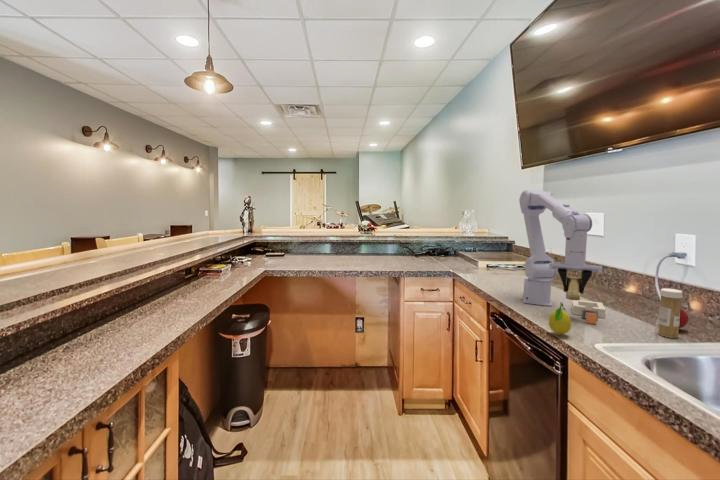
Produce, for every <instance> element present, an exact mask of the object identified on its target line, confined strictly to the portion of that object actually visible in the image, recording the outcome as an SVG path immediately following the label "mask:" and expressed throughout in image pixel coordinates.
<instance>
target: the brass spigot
mask: <svg viewBox="0 0 720 480" xmlns="http://www.w3.org/2000/svg"><path fill="white" fill-rule="evenodd" d="M566 287H567V291H566V292H565V299H567V300H569V301H570V300H571V301H572V300H581V293H580V292H581V277H578V276H567V279H566Z"/></svg>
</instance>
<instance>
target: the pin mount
mask: <svg viewBox="0 0 720 480" xmlns="http://www.w3.org/2000/svg"><path fill="white" fill-rule="evenodd" d="M586 312H589V313H596V314H597V321H598V320H599V318H598V311H596V310H588V309H582V315H581V319H585V320H586Z"/></svg>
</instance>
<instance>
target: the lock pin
mask: <svg viewBox="0 0 720 480" xmlns="http://www.w3.org/2000/svg"><path fill="white" fill-rule="evenodd" d="M597 321H598V320H597V314H596V313H589V312H586V319H585V323H586V324H589V325H590V324H591V325H597Z"/></svg>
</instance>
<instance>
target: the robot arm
mask: <svg viewBox="0 0 720 480" xmlns="http://www.w3.org/2000/svg"><path fill="white" fill-rule="evenodd" d="M518 201H519V206H520V211H521V213H522V214H523V218H524V224H525V228H526V229H525V230H526V235H527V240H528V246H529V252H530V256H529V257H528V258H527V259H526V260H525V261H524V262H525V263H524V264H525V268H524V274H525V276H526V277H527V278H525V279H524V280H523V293H522V302H523V304H530V305H539V306H545V307H546V306H547V307H552V300H551V296H552V295H551V293H552V282H554V279H555V278H556V277H557V276H558V275H559V277H560V280H561V282H562V283H561V284H562V286H563V292H565V293H566V291H567V287H566V286H567V277H568V276H567V275H568V273H567V271H578V272H581V277H580V278H581V292H580V294H584V292H585V287H586V285H587V283H588V281H589V280H590V279H591V277H592V276H593V273H598V274H599V273H600V274H602V272H603V266H602V265H596V264H595V265H593V264H586V260H587V259H586V257H587V240H588V239H587V238H588V232H589V231H591V229H592V228H593V220H592V218H591V216H589V214H581V213H579V211H578V210H575V209H574V208H572V207H571V206H570V205H571V204H569V203H560V202H558V200H557V199H555V197H553V193H552V192H551V191H550V190H548V189H544V190H523V191H522V192H521V194H520V196H519V200H518ZM546 209H547V210H549V211H551V212H552V214H551V215H552V217H553V218H554V219H556V220H557V221H558V222H559V223H560V224H561V225H562V230H563V232H564V233H563V235H564V238H565V248H564V249H565V250H564V251H565V252H564V262H554V259H553V257H551V256H549V255H548V254H547V252H546V247H545V242H544V241H545V240H544V238H543V231H542V227H541V221H540V215H541V214H544V213H545V211H546Z"/></svg>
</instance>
